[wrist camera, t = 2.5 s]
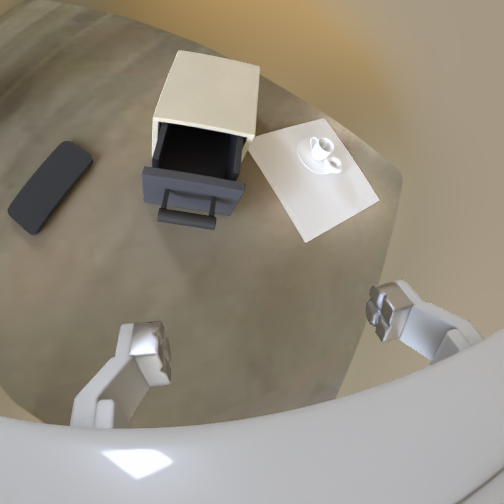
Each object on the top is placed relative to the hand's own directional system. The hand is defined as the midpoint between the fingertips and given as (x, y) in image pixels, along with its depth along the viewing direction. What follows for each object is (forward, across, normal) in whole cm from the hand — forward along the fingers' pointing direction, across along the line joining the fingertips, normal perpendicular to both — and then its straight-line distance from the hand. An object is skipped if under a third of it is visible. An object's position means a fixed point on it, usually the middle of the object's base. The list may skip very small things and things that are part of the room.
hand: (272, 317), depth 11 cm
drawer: (+35, +3, +5) cm, 36 cm away
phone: (+33, +26, +2) cm, 42 cm away
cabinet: (+44, +1, -1) cm, 44 cm away
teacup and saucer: (+40, -18, +8) cm, 45 cm away
